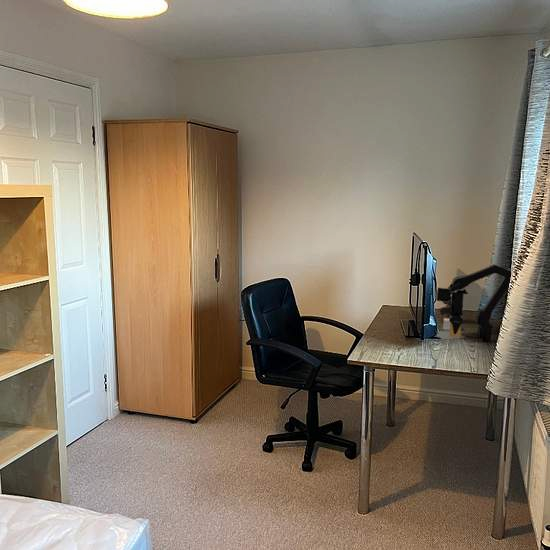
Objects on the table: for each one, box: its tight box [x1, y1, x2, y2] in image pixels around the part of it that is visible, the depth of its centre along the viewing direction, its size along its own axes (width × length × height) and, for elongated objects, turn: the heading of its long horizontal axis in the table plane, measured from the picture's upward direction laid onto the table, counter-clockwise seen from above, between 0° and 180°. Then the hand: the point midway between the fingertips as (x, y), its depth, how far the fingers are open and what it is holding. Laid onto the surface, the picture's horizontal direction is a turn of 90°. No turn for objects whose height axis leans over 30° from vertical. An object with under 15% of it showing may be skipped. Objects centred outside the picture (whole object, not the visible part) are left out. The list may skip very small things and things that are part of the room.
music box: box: [439, 293, 452, 324], centre depth 324 cm, size 15×11×20 cm
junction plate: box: [435, 330, 466, 340], centre depth 288 cm, size 14×14×5 cm
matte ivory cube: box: [442, 318, 451, 331], centre depth 302 cm, size 5×5×6 cm
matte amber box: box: [448, 323, 462, 339], centre depth 286 cm, size 5×5×6 cm
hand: (455, 331), depth 286 cm, fingers open, 9 cm apart
